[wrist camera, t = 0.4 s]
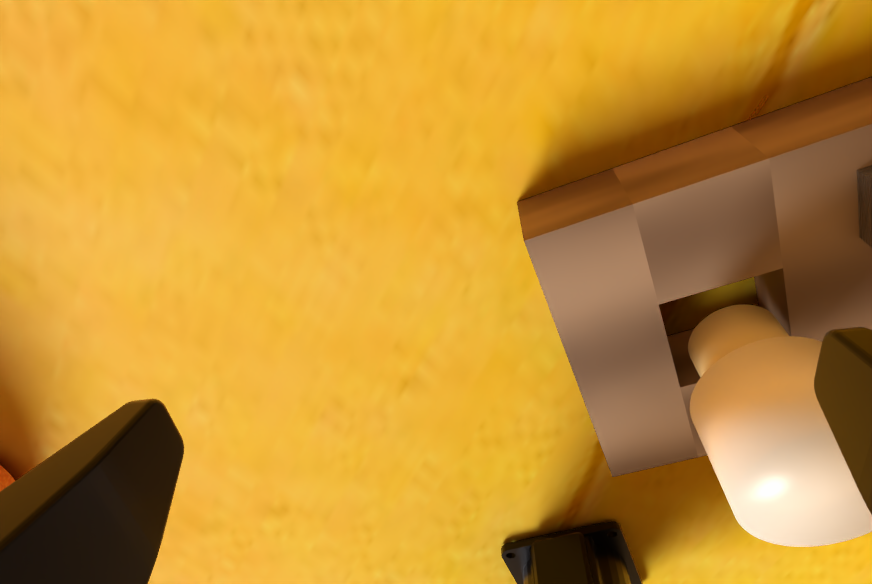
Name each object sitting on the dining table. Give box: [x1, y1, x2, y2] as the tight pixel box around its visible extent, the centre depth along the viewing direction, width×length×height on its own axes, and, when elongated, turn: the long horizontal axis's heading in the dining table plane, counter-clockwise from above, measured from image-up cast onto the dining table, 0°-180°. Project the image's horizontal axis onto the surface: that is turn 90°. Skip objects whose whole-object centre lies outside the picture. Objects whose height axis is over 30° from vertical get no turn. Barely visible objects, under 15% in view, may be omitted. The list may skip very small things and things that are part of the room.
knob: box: [688, 304, 872, 547], centre depth 18 cm, size 5×5×6 cm
